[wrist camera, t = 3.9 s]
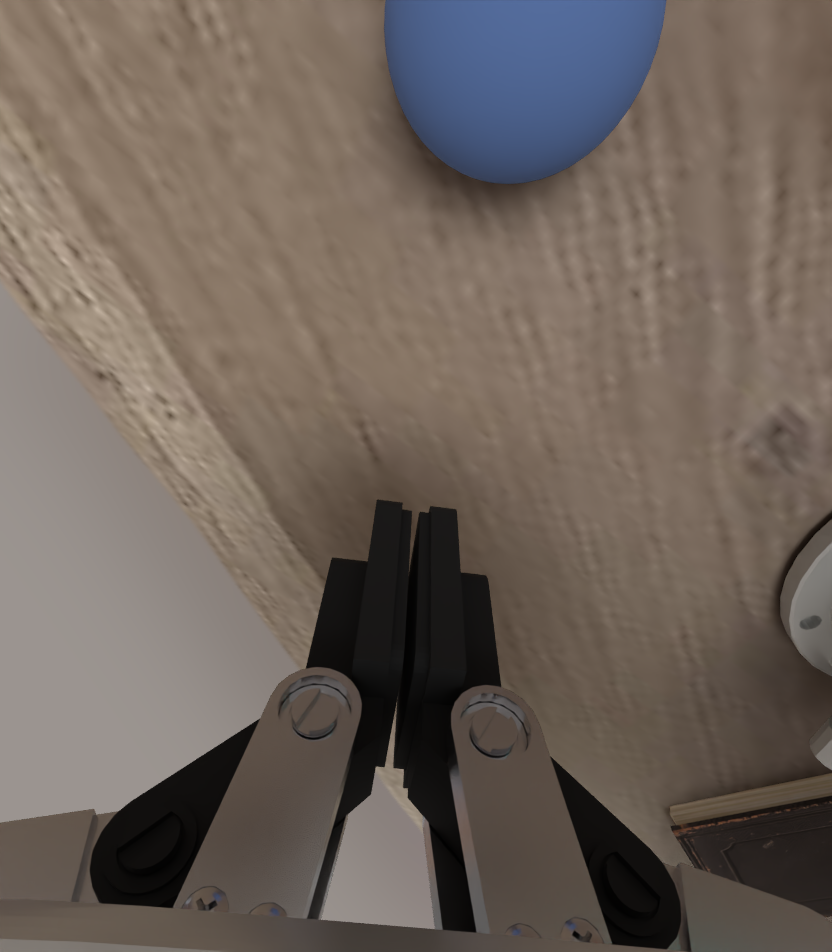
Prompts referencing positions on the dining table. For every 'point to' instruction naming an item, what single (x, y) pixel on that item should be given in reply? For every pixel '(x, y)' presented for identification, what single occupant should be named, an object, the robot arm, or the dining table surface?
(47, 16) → the dining table surface
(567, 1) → the ball
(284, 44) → the dining table surface
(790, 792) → the hardcover book
